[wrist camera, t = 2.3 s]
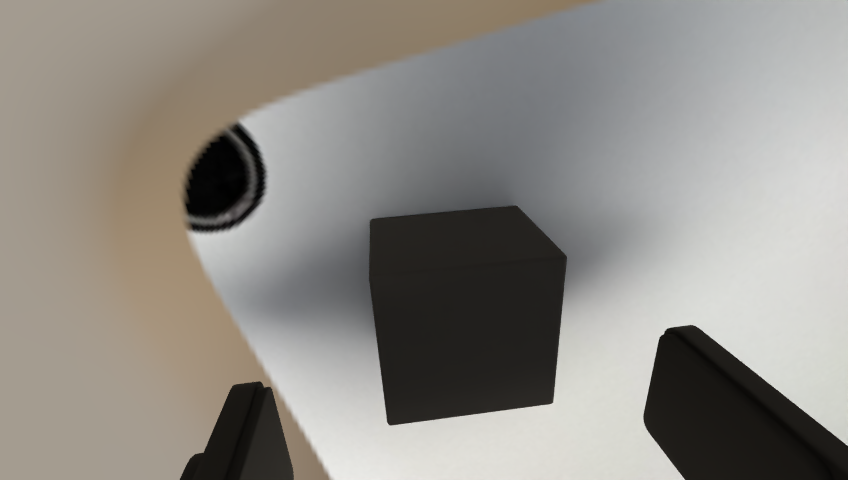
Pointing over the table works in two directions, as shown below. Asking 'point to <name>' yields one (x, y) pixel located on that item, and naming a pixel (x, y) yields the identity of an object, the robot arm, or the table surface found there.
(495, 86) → the table surface
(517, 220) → the black cube
